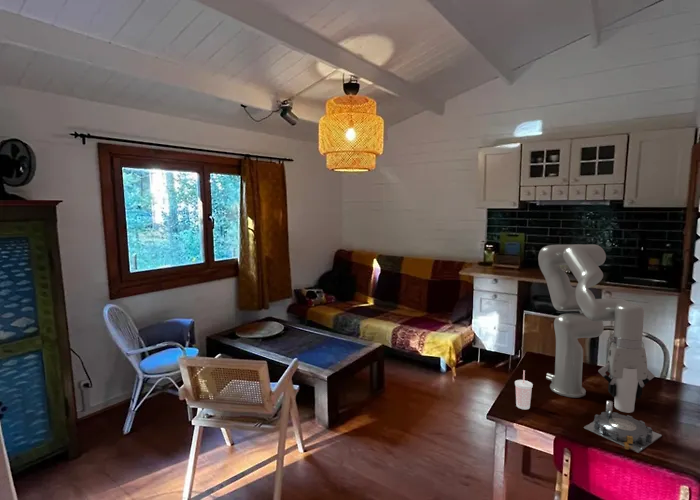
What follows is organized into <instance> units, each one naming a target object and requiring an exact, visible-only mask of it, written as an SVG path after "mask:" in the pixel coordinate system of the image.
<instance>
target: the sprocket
mask: <svg viewBox="0 0 700 500" xmlns="http://www.w3.org/2000/svg"><path fill="white" fill-rule="evenodd" d="M605 402H606V404H605V411H602V412H601V414H595V415H594V419H593V422H594V426H595V427H598V428H599V429H600V430H599V432H601V433H602V434H607V435H609V436H611V437H612V439H615V440H617V439H619V440H622V441H626V442H628V443H629V444H633V442H634V443H641V444H646V441H647V440H648V441H652V437H653V434H652V431H653V429H652V427H650V426H648V425H646V423H645V422H644V421H643V420H638V419H635V418H634V417H633V416H632V415H629V414H627V415H624V414H620V413H618V412H613V407H614V406H613V405H614V404H613V403H614V402H613V401H612V400H606V401H605Z"/></svg>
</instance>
